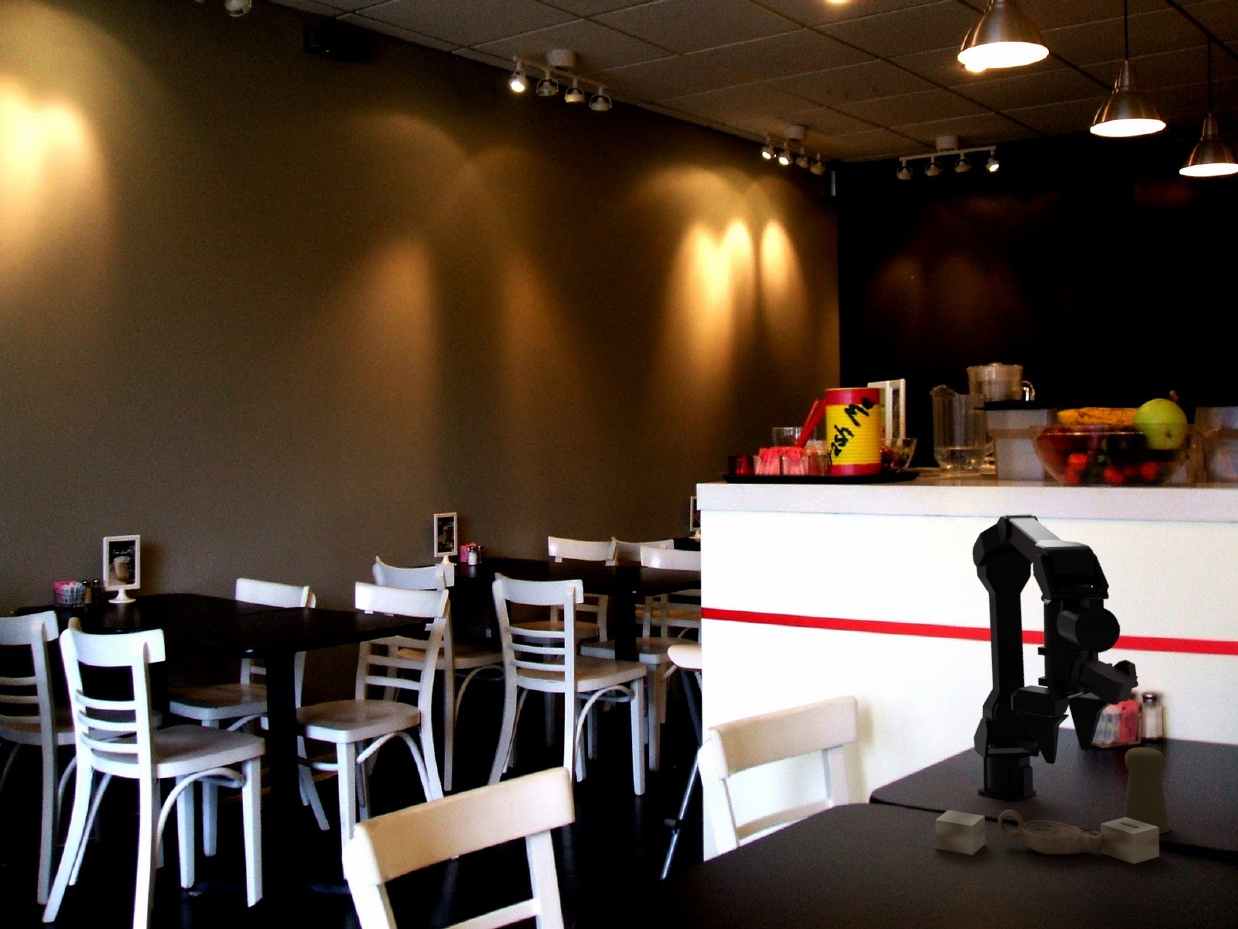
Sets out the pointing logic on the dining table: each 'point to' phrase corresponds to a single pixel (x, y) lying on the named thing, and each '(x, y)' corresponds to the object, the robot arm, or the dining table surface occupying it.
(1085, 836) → the oil lamp
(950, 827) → the beech block left
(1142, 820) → the pepper shaker
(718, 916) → the dining table surface
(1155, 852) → the beech block right
